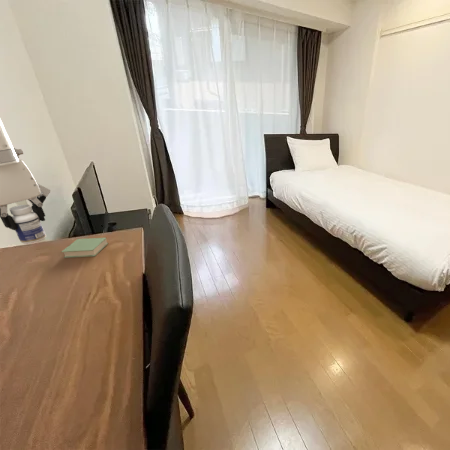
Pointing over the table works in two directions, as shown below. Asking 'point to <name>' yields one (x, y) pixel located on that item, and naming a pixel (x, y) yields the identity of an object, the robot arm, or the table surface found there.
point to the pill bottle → (27, 224)
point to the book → (85, 247)
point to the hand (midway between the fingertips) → (27, 223)
